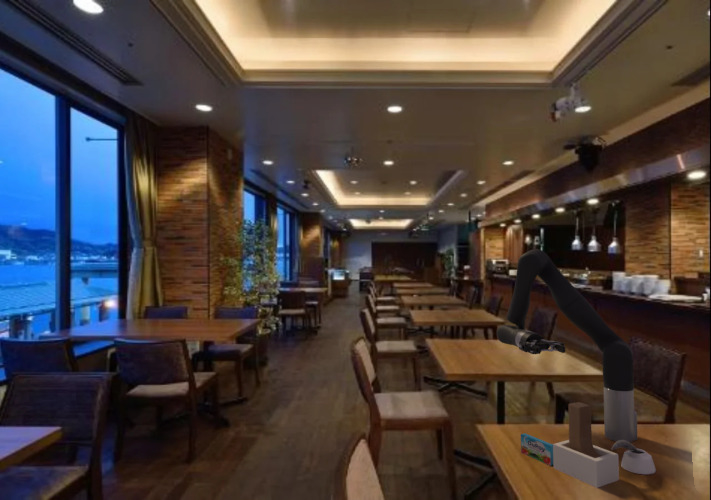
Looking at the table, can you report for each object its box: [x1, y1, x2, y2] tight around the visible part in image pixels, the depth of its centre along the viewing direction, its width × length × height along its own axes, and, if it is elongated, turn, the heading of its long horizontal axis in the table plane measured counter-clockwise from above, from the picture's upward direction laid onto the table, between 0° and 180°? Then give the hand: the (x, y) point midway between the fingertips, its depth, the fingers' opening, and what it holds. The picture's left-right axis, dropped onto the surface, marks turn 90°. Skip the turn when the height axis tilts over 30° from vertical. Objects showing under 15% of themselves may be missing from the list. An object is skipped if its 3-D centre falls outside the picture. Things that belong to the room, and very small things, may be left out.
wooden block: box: [568, 401, 601, 458], centre depth 146 cm, size 9×4×18 cm, turn 20°
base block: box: [552, 439, 620, 489], centre depth 147 cm, size 10×14×8 cm, turn 28°
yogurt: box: [520, 433, 554, 467], centre depth 158 cm, size 12×2×6 cm, turn 28°
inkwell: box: [610, 440, 657, 475], centre depth 147 cm, size 9×18×10 cm, turn 124°
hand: (551, 350), depth 167 cm, fingers open, 8 cm apart
